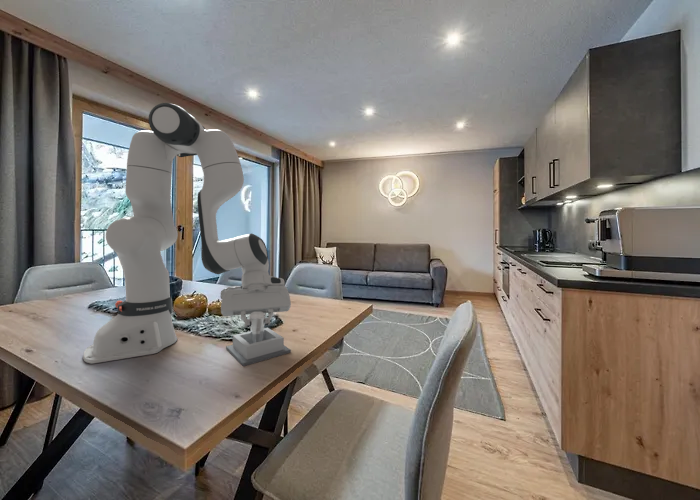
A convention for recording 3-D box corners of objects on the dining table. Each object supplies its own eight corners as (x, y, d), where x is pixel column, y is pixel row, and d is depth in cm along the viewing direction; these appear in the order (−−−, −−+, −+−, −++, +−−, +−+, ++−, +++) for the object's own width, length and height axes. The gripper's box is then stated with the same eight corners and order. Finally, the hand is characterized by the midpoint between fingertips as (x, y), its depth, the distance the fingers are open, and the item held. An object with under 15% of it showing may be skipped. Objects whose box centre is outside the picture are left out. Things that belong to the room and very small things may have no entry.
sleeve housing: (243, 366, 77) (242, 350, 77) (226, 348, 88) (225, 334, 88) (290, 352, 86) (290, 338, 86) (270, 338, 97) (270, 325, 97)
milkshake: (263, 346, 84) (263, 312, 84) (246, 344, 85) (246, 310, 85) (270, 340, 89) (270, 308, 88) (254, 338, 90) (254, 306, 89)
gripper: (220, 281, 89) (218, 323, 80) (288, 278, 96) (293, 317, 87) (221, 293, 93) (219, 334, 85) (286, 289, 100) (291, 327, 92)
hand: (257, 325), depth 86 cm, fingers closed on milkshake, 4 cm apart
